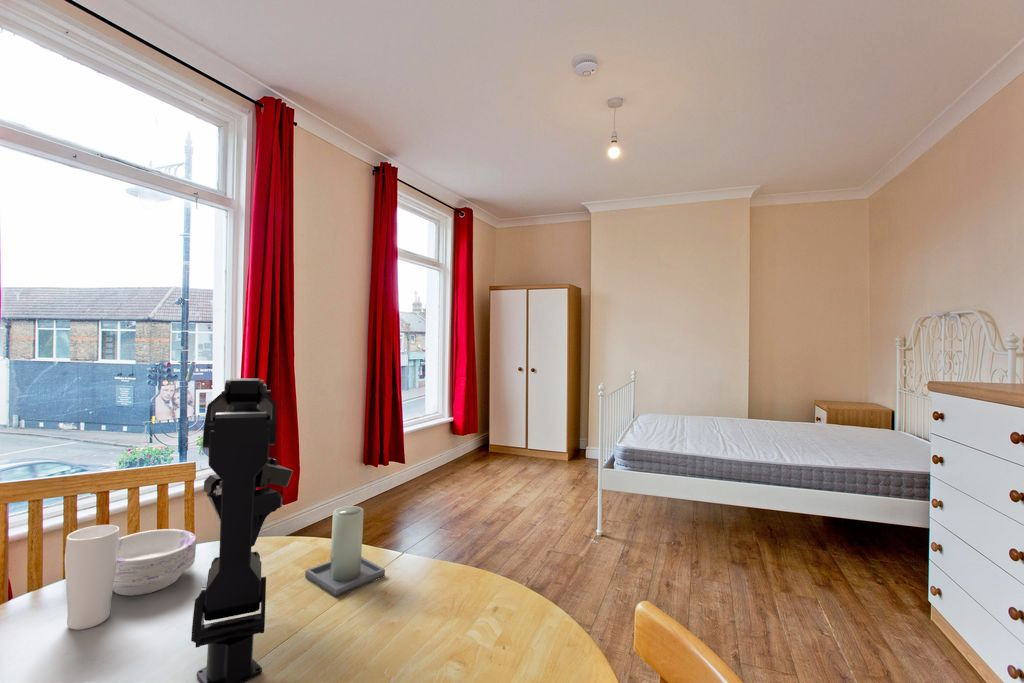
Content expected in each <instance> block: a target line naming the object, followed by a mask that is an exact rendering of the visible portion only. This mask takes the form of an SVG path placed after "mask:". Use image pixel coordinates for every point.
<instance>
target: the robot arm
mask: <svg viewBox="0 0 1024 683" xmlns="http://www.w3.org/2000/svg"><path fill="white" fill-rule="evenodd" d="M220 392H221V393H220V394H219V395H217V396H216V397H215V398H213V400H211V402H209V403H208V404H207V408H206V413H205V417H204V418H205V419H204V424H203V425H204V426H203V434H202V436H203V437H202V448H203V449H208V466H209V468H210V469H211V470H212V471H213V472H214V473H215V474H210V475H209V476H208V477H207V478H206V479H205V480H204V481H203V492H205V493H206V497H207V498H208V500H209V502H210V503H211V506H212V508H213V510H214V512H215V513H216V516H217V517H218V520H219V522H220V525H219V526H220V527H219V556H217V557H214V559H213V560H212V561H211V564H210V566H211V567H210V568H209V570H208V572H207V579H206V586H201V590H200V592H199V593H198V594H199V595H198V596H197V597H196V598H195V599H194V607H193V615H192V623H191V624H192V625H191V639H190V641H191V642H192V643H195V648H201V647H202V646H207V654H206V655H207V657H206V666H205V667H202V668H201V669H199V670H197V671H196V678H198V680H199V681H200V683H245V682H247V681H248V680H250V679H253V678H254V677H256V676H259V675H260V674H262V673H263V667H261V665H260V664H259V663H258V662H257V661H255V659H254V658H253V656H254V655H253V654H254V637H255V635H258V634H260V635H261V634H264V633H265V624H266V623H265V622H266V600H267V599H266V596H267V595H266V594H267V592H266V591H267V590H266V589H267V576H262V561H261V556H260V553H259V552H258V551H252V547H254V546H255V544H256V542H257V539H258V537H259V534H260V532H261V529H262V527H263V525H264V522H265V520H266V518H267V516H269V515H271V513H273V512H276V511H277V510H278V509H281V508H282V507H283V495H282V494H281V493H280V492H278V491H277V490H275V489H273V488H270V487H268V484H271V485H278V486H281V487H284V488H287V487H288V485H289V483H290V480H291V477H292V475H293V472H294V470H293V469H290V468H288V467H285V466H282V465H280V464H278V460H277V459H276V458H272V457H270V446H274V445H276V434H277V404H276V402H275V401H274V400H273V399H272V398H271V393H272V392H271V389H268V388H267V384H266V383H265V380H263V379H260V378H250V377H249V378H248V377H247V378H239V377H238V378H237V377H236V378H234V377H233V378H230V379H226V380H225V384H224V389H222V390H221V391H220ZM258 488H260V489H258ZM258 611H260V613H255V612H258ZM251 613H254V614H251ZM246 614H251V615H246ZM241 615H242V616H241ZM243 615H245V616H243ZM236 616H239V617H236ZM230 617H235V618H230ZM225 618H226V619H225ZM227 618H229V619H227ZM221 619H225V620H221ZM215 620H220V621H215ZM211 621H215V622H211ZM205 622H209V623H205ZM210 622H211V623H210Z"/></svg>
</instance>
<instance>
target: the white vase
mask: <svg viewBox="0 0 1024 683" xmlns="http://www.w3.org/2000/svg"><path fill="white" fill-rule="evenodd" d="M120 538H121V537H120V527H119V526H118V525H114V524H98V525H92V526H91V525H90V526H87V527H82V528H80V529H79V528H78V529H77V530H74V531H72V532H70V533H68V535H66V540H65V549H64V574H65V575H64V577H65V589H66V590H65V592H66V607H67V608H66V609H67V610H66V611H67V618H66V620H67V621H66V625H67V627H68V629H70V630H73V631H74V630H75V631H81V630H82V631H83V630H87V629H91V628H93V627H96V626H99V625H101V624H102V623H104V622H105V621H106V620H107V619H108V618H109V617H110V615H111V605H112V597H113V592H114V591H113V585H114V579H115V572H116V566H117V560H118V553H119V539H120Z"/></svg>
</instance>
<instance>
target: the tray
mask: <svg viewBox="0 0 1024 683" xmlns="http://www.w3.org/2000/svg"><path fill="white" fill-rule="evenodd" d="M385 572H386V569H385V568H383V567H382V566H380V565H378V564H376V563H374V562H373V561H370V560H368V559H367V558H365V557H362V556H361V572H360V575H359V576H358V577H357V578H355V579H353V580H350V581H342V582H341V581H334V580H332V579H331V578H330V560H329V561H327V562H324V563H321V564H318V565H316V566H313V567H310V568H308V569H305V575H304V578H305V579H306V580H308V581H310V582H311V583H313V584H314V585H316V586H317V587H319V588H321V589H322V590H324V592H326V593H328V594H329V595H331V596H333V597H334V598H339V597H340V596H343V595H345V594H348V593H350V592H352V591H355V590H357V589H359V588H362V587H364V586H366V585H369V584H370V582H371V583H373V582H375V581H377V580H376V579H378V578H380V579H382V578H384V577H383V576H385V574H386V573H385ZM381 577H382V578H381ZM374 580H375V581H374ZM378 580H379V579H378ZM372 581H373V582H372Z"/></svg>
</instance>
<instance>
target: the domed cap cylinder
mask: <svg viewBox="0 0 1024 683" xmlns="http://www.w3.org/2000/svg"><path fill="white" fill-rule="evenodd" d="M331 526H332V528H331V543H330V544H331V546H330V560H329V561H330V578H331V579H332V580H334V581H341V582H342V581H350V580H353V579H355V578H357V577H358V576H359V575H360V572H361V557H362V552H363V550H362V549H363V547H362V546H363V530H364V529H363V528H364V508H362V507H360V506H357V505H356V506H355V505H345V506H341V507H338V508H336V509H334V510H333V512H332V525H331Z"/></svg>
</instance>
